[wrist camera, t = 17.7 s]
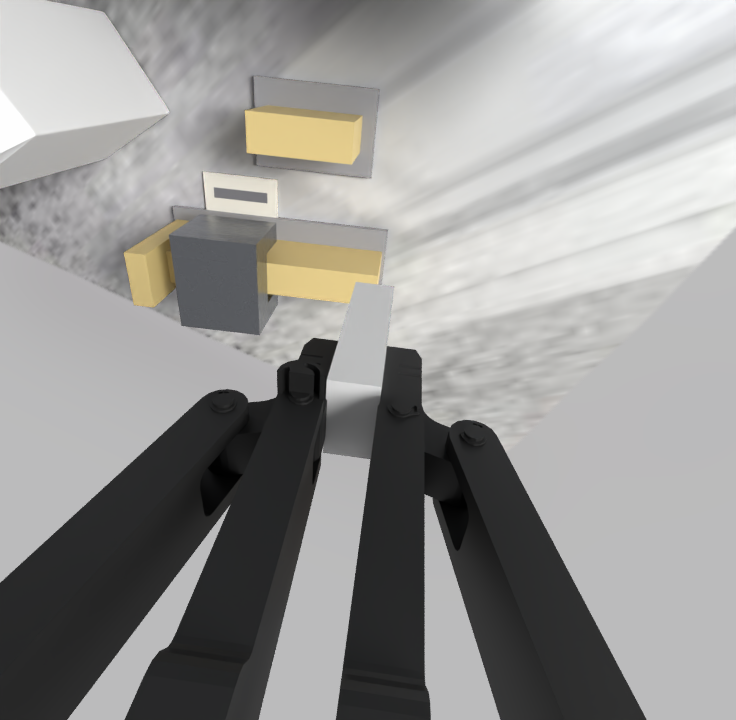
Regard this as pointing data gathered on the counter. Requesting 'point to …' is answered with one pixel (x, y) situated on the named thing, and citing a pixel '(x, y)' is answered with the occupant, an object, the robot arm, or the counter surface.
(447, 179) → the counter surface
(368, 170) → the stub
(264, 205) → the label
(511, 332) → the counter surface
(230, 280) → the grey block
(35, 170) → the milk carton
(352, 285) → the rail
